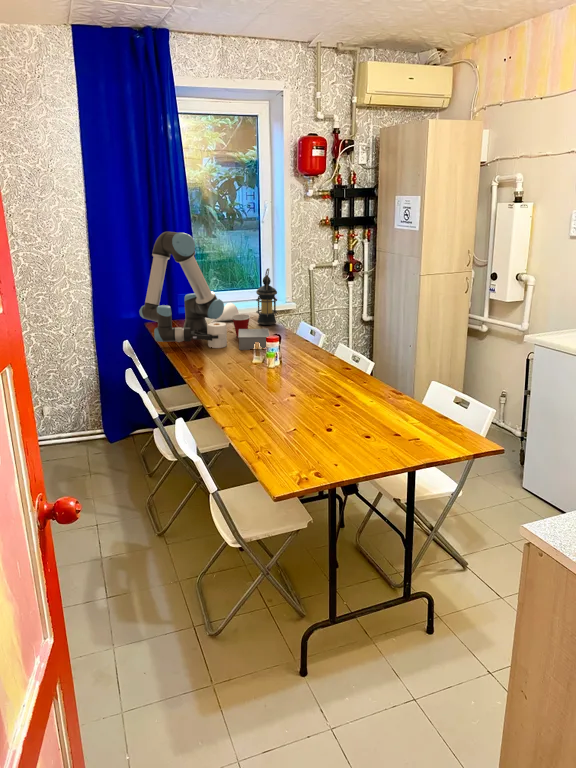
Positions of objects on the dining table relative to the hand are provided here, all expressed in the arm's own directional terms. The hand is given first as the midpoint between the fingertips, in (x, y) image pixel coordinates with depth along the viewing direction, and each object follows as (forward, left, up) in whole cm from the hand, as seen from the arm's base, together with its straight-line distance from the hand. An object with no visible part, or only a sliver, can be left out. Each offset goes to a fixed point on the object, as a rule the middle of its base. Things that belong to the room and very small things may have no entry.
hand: (224, 334), depth 325 cm
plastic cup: (-20, +9, -7) cm, 23 cm away
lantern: (-50, +25, -7) cm, 56 cm away
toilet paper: (0, -4, -7) cm, 8 cm away
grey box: (0, +16, -7) cm, 17 cm away
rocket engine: (-62, -4, -7) cm, 62 cm away
